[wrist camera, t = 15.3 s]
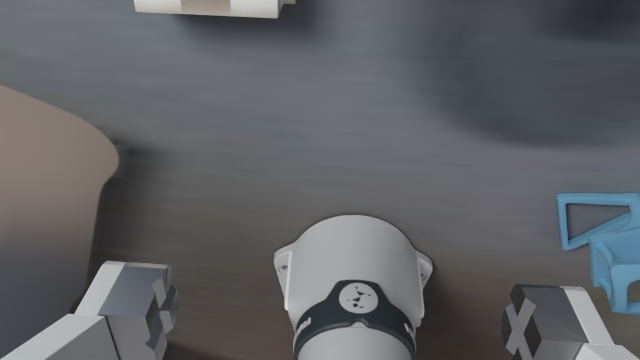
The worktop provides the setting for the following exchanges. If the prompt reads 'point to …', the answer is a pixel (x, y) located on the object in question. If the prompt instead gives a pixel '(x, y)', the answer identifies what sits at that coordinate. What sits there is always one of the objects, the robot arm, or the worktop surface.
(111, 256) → the worktop surface
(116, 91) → the worktop surface
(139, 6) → the board
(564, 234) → the chair
